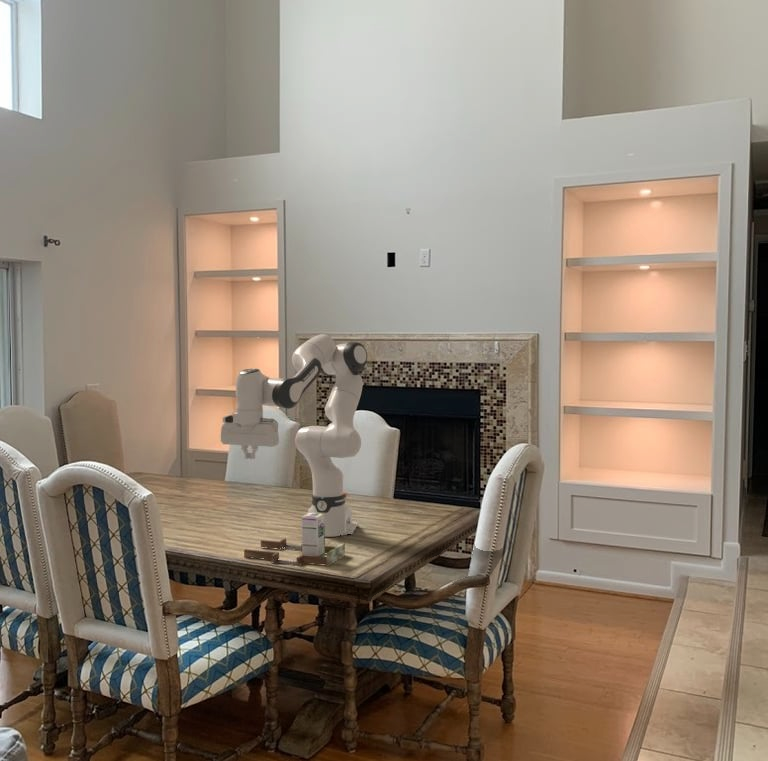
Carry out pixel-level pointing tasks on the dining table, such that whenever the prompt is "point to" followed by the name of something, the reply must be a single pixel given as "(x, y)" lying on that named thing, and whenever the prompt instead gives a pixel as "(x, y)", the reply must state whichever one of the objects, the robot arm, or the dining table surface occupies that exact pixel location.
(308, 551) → the syrup box
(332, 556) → the trap lane
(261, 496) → the dining table surface
